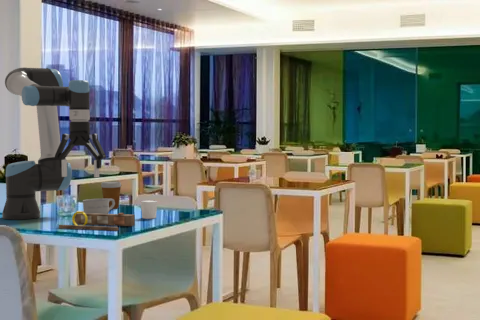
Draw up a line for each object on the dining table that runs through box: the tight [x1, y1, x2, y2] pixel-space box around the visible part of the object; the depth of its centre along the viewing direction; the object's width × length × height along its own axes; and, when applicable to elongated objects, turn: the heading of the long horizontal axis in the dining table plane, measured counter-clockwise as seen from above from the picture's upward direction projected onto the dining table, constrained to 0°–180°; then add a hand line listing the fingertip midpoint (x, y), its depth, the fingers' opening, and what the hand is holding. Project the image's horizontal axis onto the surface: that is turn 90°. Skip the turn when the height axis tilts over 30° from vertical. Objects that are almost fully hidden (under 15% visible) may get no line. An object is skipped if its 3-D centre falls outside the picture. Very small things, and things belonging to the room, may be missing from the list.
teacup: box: [82, 197, 115, 214], centre depth 295 cm, size 14×11×8 cm
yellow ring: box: [71, 210, 88, 226], centre depth 271 cm, size 6×3×6 cm, turn 73°
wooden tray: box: [58, 212, 136, 232], centre depth 270 cm, size 24×15×5 cm, turn 74°
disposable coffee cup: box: [100, 181, 122, 210], centre depth 328 cm, size 10×10×12 cm
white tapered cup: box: [140, 199, 158, 220], centre depth 295 cm, size 7×7×7 cm
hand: (80, 177), depth 271 cm, fingers open, 13 cm apart
